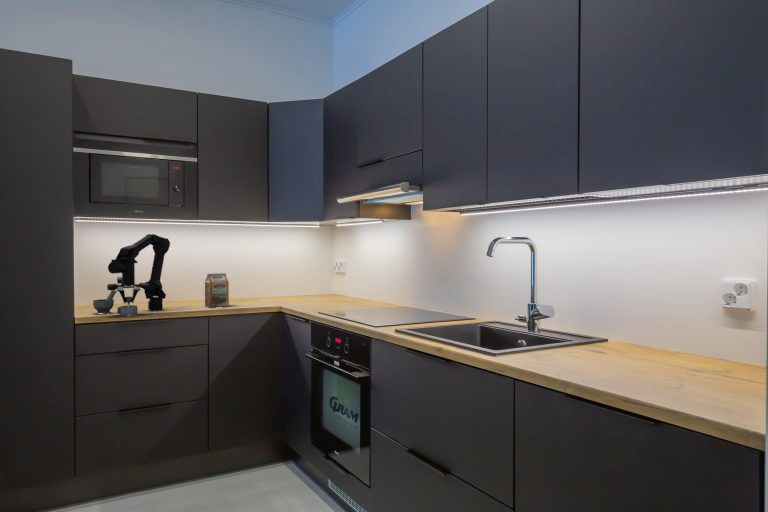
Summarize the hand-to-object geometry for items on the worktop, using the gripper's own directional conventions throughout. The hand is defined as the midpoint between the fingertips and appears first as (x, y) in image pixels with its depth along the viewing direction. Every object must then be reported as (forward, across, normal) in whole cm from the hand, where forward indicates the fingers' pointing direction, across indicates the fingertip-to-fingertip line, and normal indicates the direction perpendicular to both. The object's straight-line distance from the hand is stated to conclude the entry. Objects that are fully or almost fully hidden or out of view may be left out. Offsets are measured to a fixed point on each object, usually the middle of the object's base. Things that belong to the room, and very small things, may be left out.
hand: (128, 303), depth 261 cm
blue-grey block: (+6, 0, 0) cm, 6 cm away
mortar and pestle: (+6, +9, -13) cm, 17 cm away
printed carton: (+6, -47, -11) cm, 49 cm away
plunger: (+5, 0, 0) cm, 5 cm away
